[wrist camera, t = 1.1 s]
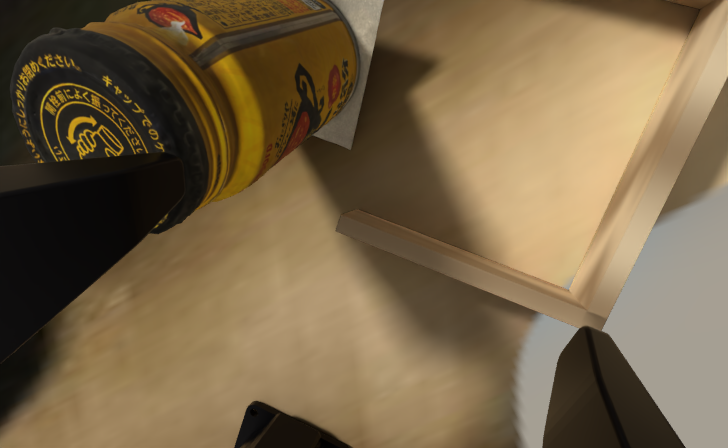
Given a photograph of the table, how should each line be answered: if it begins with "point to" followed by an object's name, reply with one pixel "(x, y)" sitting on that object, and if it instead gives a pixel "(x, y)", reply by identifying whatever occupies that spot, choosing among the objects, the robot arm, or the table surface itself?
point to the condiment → (198, 87)
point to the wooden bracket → (625, 211)
